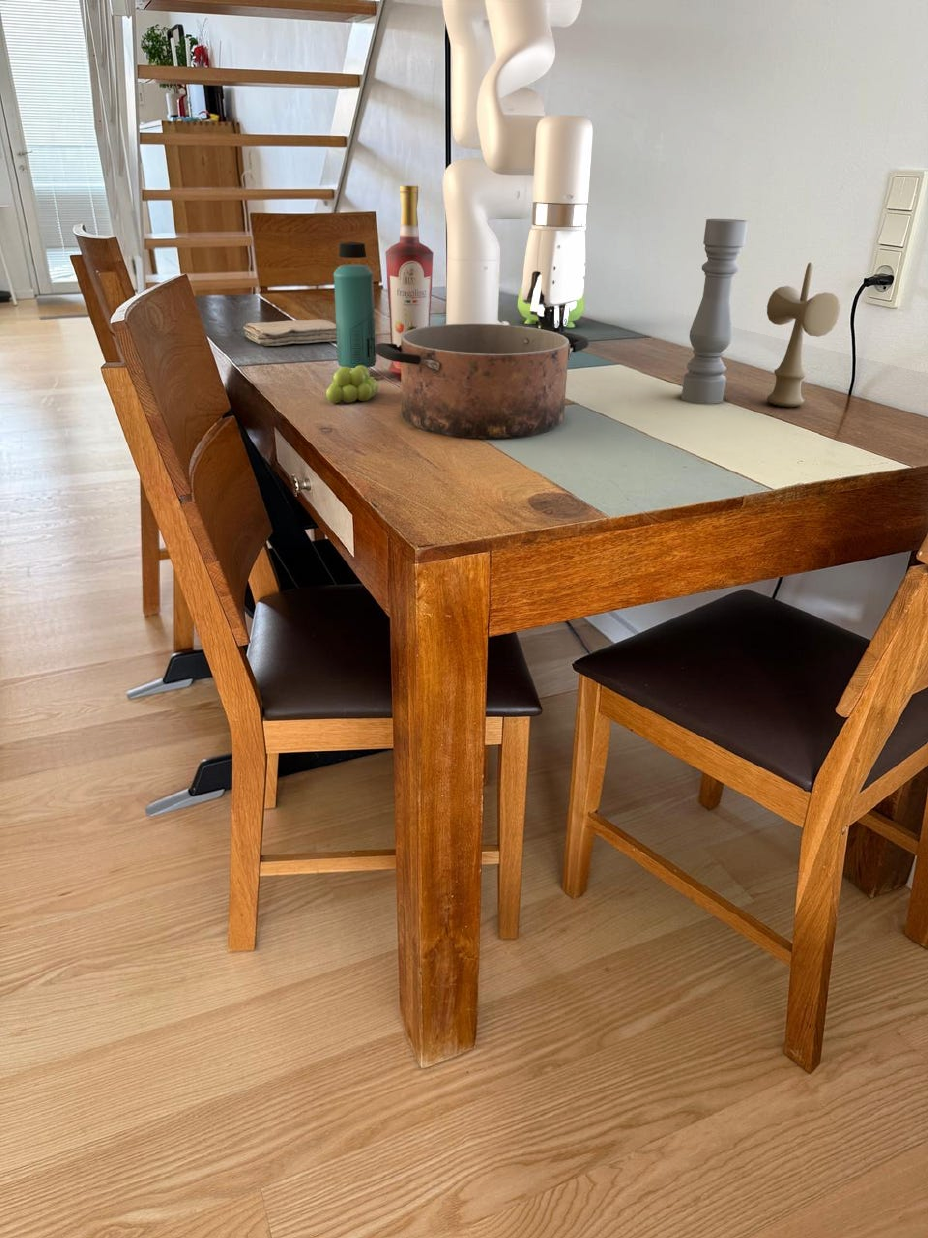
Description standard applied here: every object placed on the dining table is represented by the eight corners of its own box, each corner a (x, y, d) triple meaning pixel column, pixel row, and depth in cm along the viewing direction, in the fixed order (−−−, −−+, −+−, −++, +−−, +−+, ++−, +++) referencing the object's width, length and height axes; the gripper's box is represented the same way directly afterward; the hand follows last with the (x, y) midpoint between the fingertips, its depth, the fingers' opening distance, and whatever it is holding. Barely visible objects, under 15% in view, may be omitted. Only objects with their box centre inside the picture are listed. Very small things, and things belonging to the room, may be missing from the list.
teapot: (602, 330, 191) (607, 266, 185) (545, 334, 186) (550, 268, 180) (553, 315, 207) (557, 256, 201) (500, 318, 202) (503, 257, 196)
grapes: (367, 386, 142) (366, 357, 140) (401, 394, 138) (401, 363, 136) (311, 400, 133) (310, 369, 131) (346, 408, 130) (345, 376, 128)
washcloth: (241, 337, 176) (239, 320, 175) (329, 330, 184) (328, 314, 182) (260, 348, 167) (259, 330, 165) (352, 341, 175) (351, 324, 173)
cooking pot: (535, 390, 142) (540, 318, 137) (618, 426, 124) (626, 345, 119) (352, 408, 130) (349, 329, 125) (414, 450, 112) (414, 361, 107)
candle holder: (724, 396, 141) (751, 219, 130) (720, 405, 136) (748, 222, 125) (683, 392, 143) (706, 217, 132) (678, 401, 138) (702, 220, 126)
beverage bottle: (370, 379, 146) (367, 244, 137) (331, 376, 148) (325, 242, 138) (382, 370, 152) (379, 240, 143) (343, 368, 153) (338, 239, 144)
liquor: (389, 382, 145) (386, 186, 132) (385, 372, 151) (382, 184, 138) (435, 381, 146) (436, 187, 133) (429, 371, 152) (430, 185, 139)
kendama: (788, 414, 132) (815, 266, 123) (748, 398, 140) (771, 258, 131) (822, 411, 134) (851, 265, 125) (780, 396, 142) (805, 258, 133)
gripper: (564, 214, 134) (556, 344, 142) (506, 218, 123) (501, 358, 131) (609, 217, 130) (598, 350, 138) (553, 220, 119) (545, 365, 127)
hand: (551, 353), depth 135 cm, fingers closed
